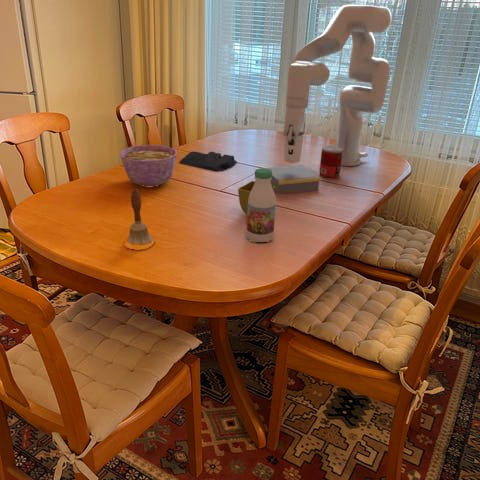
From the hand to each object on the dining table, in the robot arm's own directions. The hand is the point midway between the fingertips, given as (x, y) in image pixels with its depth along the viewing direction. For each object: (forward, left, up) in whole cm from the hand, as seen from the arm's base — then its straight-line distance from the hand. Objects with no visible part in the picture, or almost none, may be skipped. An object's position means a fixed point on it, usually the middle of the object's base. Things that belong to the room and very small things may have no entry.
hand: (292, 154), depth 164 cm
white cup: (0, -1, -2) cm, 3 cm away
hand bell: (+60, +31, -12) cm, 68 cm away
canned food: (-20, -6, -12) cm, 24 cm away
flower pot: (+22, +21, -12) cm, 33 cm away
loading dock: (0, 0, -12) cm, 12 cm away
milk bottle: (+27, +37, -12) cm, 47 cm away
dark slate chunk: (+22, -33, -12) cm, 42 cm away
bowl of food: (+49, -15, -12) cm, 53 cm away
